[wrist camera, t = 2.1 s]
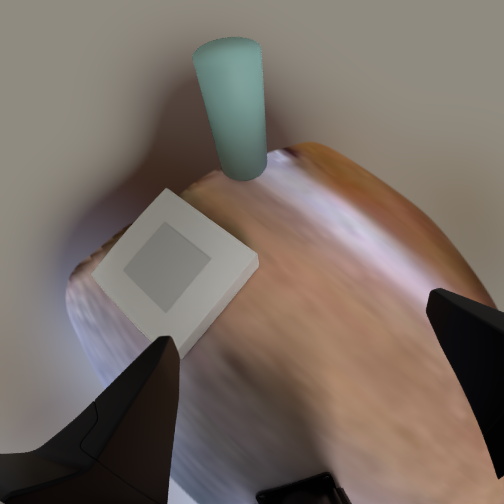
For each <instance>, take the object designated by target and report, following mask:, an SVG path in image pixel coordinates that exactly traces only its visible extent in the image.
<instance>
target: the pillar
mask: <svg viewBox="0 0 504 504" xmlns="http://www.w3.org/2000/svg"><path fill="white" fill-rule="evenodd" d="M193 62H194V66H195V70H196V74H197V77H198V81H199V85H200V89H201V93H202V96H203V100H204V104H205V108H206V112H207V115H208V119H209V123H210V126H211V130H212V134H213V138H214V141H215V145H216V149H217V153H218V157H219V160H220V164H221V168H222V170H223V172H224V174H225V175H226V176H228V177H229V178H231V179H234V180H238V181H247V180H251V179H254V178H256V177H258V176H259V175H261V174H262V173H263V171H264V170H265V168H266V166H267V148H266V126H265V108H264V107H265V106H264V88H263V71H262V56H261V46H260V45H259V43H257V42H256V41H254V40H251V39H248V38H242V37H228V38H221V39H217V40H213V41H211V42H208V43H206V44H204V45H202V46H201V47H199V48H198V49H197V50H196V51H195V52H194V54H193Z"/></svg>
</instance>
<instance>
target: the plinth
mask: <svg viewBox="0 0 504 504" xmlns="http://www.w3.org/2000/svg"><path fill="white" fill-rule="evenodd" d="M258 267H259V261H258V254H257V253H256V252H254V251H253V250H252V249H250V248H249V247H247V246H246V245H245V244H243V243H242V242H240V241H239V240H238V239H236V238H235V237H234V236H232V235H231V234H229V233H228V232H227V231H225V230H224V229H223V228H221V227H220V226H218V225H217V224H216V223H214V222H213V221H212V220H210V219H209V218H207V217H206V216H205V215H203V214H202V213H201V212H199V211H198V210H196V209H195V208H194V207H192V206H191V205H190V204H188V203H187V202H185V201H184V200H183V199H181V198H180V197H178V196H177V195H176V194H174V193H173V192H171V191H170V190H169V189H167V188H166V189H165V190H164V191H163V192H162V193H161V194H160V195H159V196H158V197H157V198H156V199H155V200H154V202H152V203H151V204H150V205H149V206H148V208H147V209H146V210H145V211H144V212H143V213H142V214H141V215H140V217H138V219H137V220H136V221H135V222H134V223H133V224H132V225H131V226H130V228H129V229H128V230H127V231H126V232H125V233H124V234H123V236H122V237H121V238H120V239H119V240H118V241H117V243H116V244H115V245H114V246H113V247H112V249H111V250H110V251H109V252H108V254H107V255H106V256H105V257H104V258H103V260H102V261H101V262H100V263H99V265H98V266H97V267H96V268H95V270H94V271H93V272H92V274H91V276H92V277H93V278H94V280H95V281H96V282H97V283H98V285H99V286H100V287H101V288H102V289H103V290H104V292H105V293H106V294H107V295H108V296H109V297H110V299H111V300H112V301H113V302H114V303H115V304H116V305H117V306H118V308H119V309H120V310H121V311H122V312H123V313H124V314H125V315H126V316H127V317H128V319H129V320H130V321H131V322H132V323H133V324H134V325H135V326H136V327H137V328H138V329H139V330H140V331H141V332H142V333H143V334H144V335H145V336H146V337H147V338H148V339H149V340H150V341H151V342H154V341H155V340H156V339H157V338H158V337H159V336H167V335H170V336H171V337H172V338H173V340H174V343H175V345H176V348H177V350H178V352H179V356H180V359H183V358H184V356H185V355H186V354H187V353H188V352H189V350H190V349H191V348H192V347H193V346H194V344H195V343H196V342H197V341H198V340H199V338H200V337H201V336H202V335H203V334H204V332H205V331H206V330H207V329H208V328H209V326H210V325H211V324H212V323H213V322H214V320H215V319H216V318H217V317H218V316H219V314H220V313H221V312H222V311H223V310H224V308H225V307H226V306H227V305H228V304H229V302H230V301H231V300H232V299H233V297H234V296H235V295H236V294H237V293H238V291H239V290H240V289H241V288H242V286H243V285H244V284H245V283H246V282H247V280H248V279H249V278H250V277H251V275H252V274H253V273H254V272H255V271H256V269H257V268H258Z"/></svg>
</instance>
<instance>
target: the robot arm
mask: <svg viewBox="0 0 504 504" xmlns="http://www.w3.org/2000/svg"><path fill="white" fill-rule="evenodd" d="M426 314H427V317H428V319H429V321H430V323H431V325H432V327H433V330H434V332H435V334H436V336H437V339H438V341H439V343H440V346H441V348H442V350H443V352H444V353H445V355H446V357H447V359H448V361H449V363H450V365H451V367H452V369H453V370H454V372H455V374H456V376H457V378H458V380H459V382H460V384H461V387H462V389H463V391H464V393H465V395H466V397H467V399H468V401H469V404H470V406H471V408H472V410H473V413H474V415H475V417H476V420H477V422H478V425H479V427H480V429H481V432H482V435H483V437H484V440H485V443H486V445H487V448H488V451H489V454H490V457H491V460H492V463H493V466H494V469H495V472H496V475H497V478H498V479H500V478H501V477H503V476H504V312H501V311H499V310H496V309H494V308H491V307H489V306H486V305H484V304H481V303H479V302H476V301H474V300H471V299H468V298H466V297H463V296H461V295H458V294H455V293H453V292H450V291H448V290H445V289H442V288H437V289H434V290H432V291H431V292H430V294H429V298H428V303H427V307H426ZM179 370H180V356H179V352H178V350H177V348H176V345H175V343H174V340H173V338H172V337H171V336H170V335H167V336H159V337H158V338H157V339H156V340H155V341H154V342H152V343H151V344H150V345H149V346H148V347H147V348H146V349H145V350H144V351H143V352H142V353H141V354H140V355H139V356H138V357H137V358H136V359H135V360H134V361H133V362H132V363H131V364H130V365H129V366H128V367H127V368H126V369H125V370H124V371H123V372H122V373H121V374H120V375H119V376H118V377H117V378H116V379H115V380H114V381H113V382H112V383H111V384H110V385H109V386H108V387H107V388H106V389H105V390H104V391H103V392H102V393H101V394H100V395H99V396H98V397H97V398H96V399H95V401H93V402H92V403H91V404H90V405H89V406H88V407H87V408H86V409H85V410H84V411H83V412H82V413H81V414H80V415H79V416H78V417H76V418H75V419H74V420H73V421H72V422H71V423H69V424H68V425H67V426H66V427H65V428H64V429H62V430H61V431H60V432H59V433H57V434H56V435H55V436H54V437H52V438H51V439H50V440H49V441H48V442H46V443H45V444H44V445H43V446H41V447H40V448H38V449H36V450H33V451H30V452H25V453H13V454H0V504H167V502H168V489H169V478H170V468H171V458H172V449H173V441H174V432H175V424H176V417H177V409H178V401H179ZM325 476H329V477H328V478H327V479H323V478H324V477H325ZM262 495H263V496H264V498H261V497H259V496H262ZM256 500H257V502H258V504H352V503H351V502H350V500H349V498H348V496H347V495H346V493H345V491H344V489H343V488H341V487H339V488H336V485H335V483H334V480H333V477H332V475H331V473H329V472H324V473H322V474H319V475H316V476H313V477H310V478H307V479H304V480H301V481H298V482H294V483H291V484H288V485H284V486H280V487H277V488H273V489H269V490H265V491H260V492H258V493H257V494H256Z"/></svg>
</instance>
